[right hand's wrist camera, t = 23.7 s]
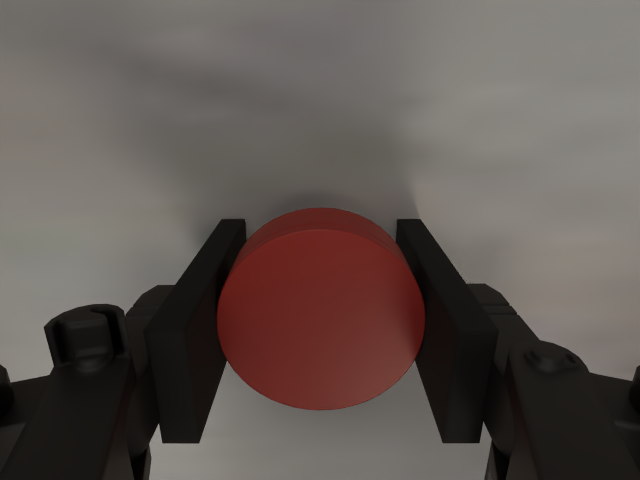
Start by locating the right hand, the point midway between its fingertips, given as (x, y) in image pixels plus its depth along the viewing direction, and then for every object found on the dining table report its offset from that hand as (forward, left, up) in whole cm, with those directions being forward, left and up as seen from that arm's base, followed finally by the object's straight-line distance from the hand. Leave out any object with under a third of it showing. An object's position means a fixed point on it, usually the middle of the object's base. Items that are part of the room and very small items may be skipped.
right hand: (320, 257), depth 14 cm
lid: (0, 0, +4) cm, 4 cm away
